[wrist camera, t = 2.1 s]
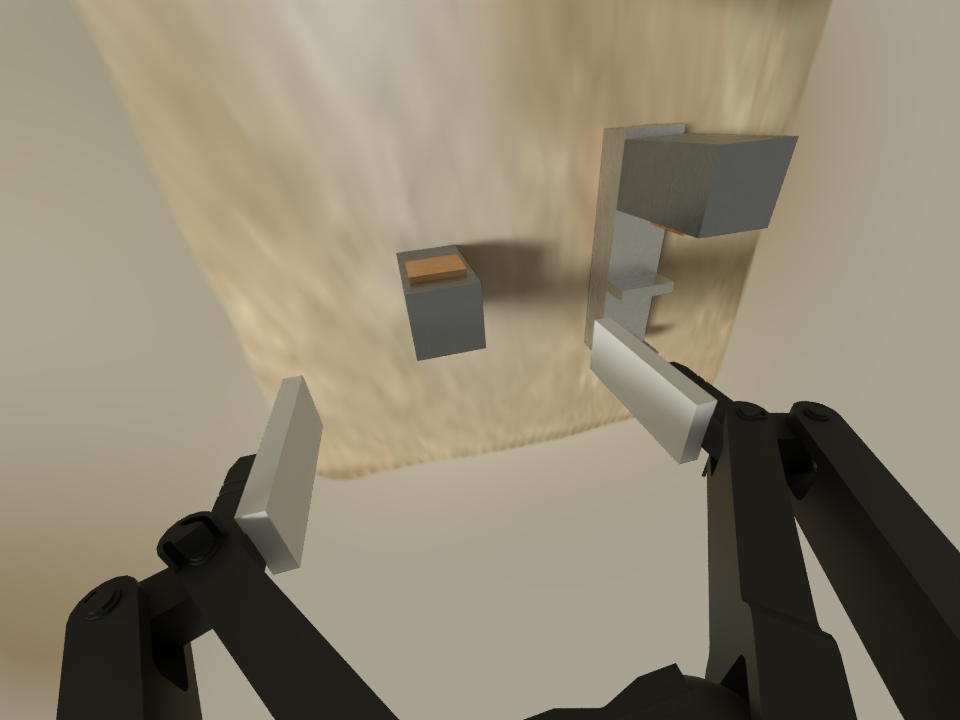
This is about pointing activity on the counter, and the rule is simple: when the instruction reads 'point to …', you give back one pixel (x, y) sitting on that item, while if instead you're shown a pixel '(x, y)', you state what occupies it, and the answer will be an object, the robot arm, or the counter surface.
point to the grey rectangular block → (442, 302)
